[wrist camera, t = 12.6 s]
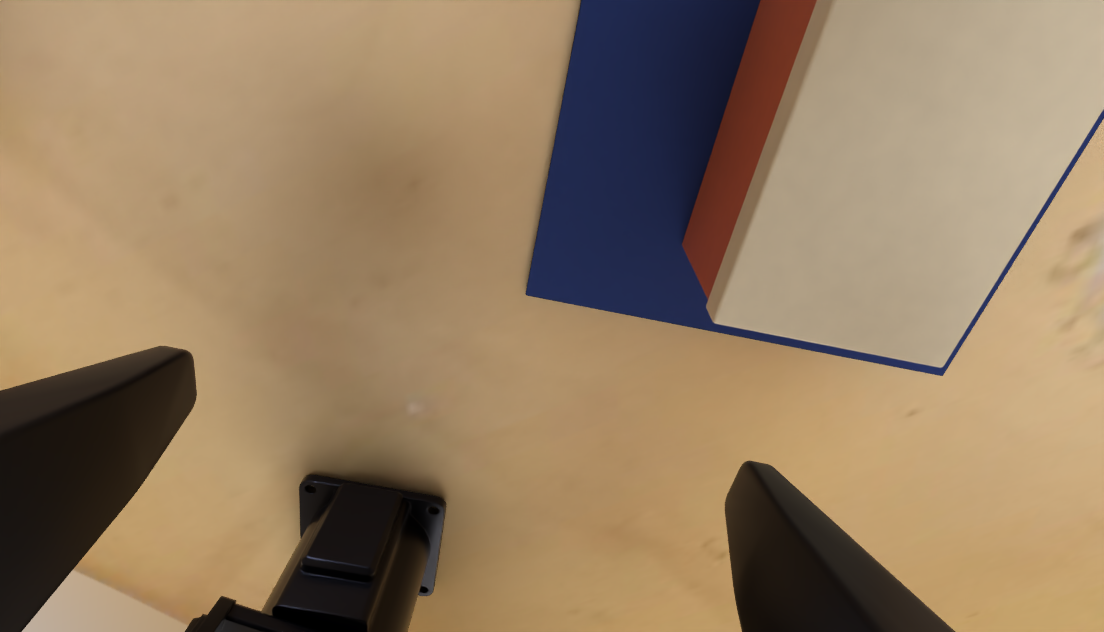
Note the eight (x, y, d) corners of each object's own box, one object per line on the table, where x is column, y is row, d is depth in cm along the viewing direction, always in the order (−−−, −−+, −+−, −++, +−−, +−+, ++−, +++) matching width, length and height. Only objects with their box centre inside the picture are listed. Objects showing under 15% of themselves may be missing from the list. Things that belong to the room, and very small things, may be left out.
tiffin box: (849, 282, 19) (943, 369, 14) (677, 247, 19) (711, 324, 14) (1018, -64, 15) (1245, -112, 10) (793, -118, 14) (906, -196, 9)
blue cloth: (938, 372, 21) (943, 376, 21) (526, 291, 20) (525, 295, 20) (1264, -156, 14) (1277, -160, 14) (640, -312, 13) (641, -320, 13)
